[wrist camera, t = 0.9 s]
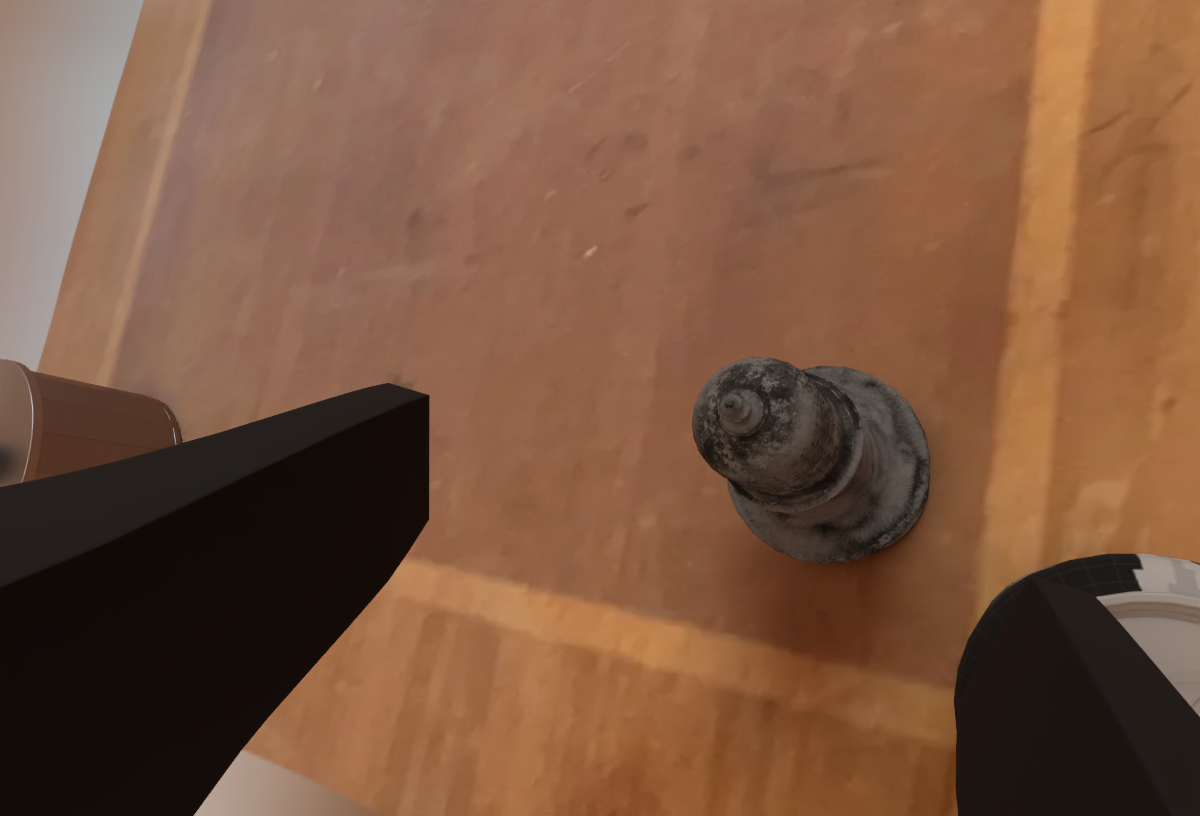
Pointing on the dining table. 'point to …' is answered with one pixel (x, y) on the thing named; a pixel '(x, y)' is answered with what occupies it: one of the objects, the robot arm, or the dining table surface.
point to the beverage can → (1119, 612)
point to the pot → (98, 425)
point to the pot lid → (19, 423)
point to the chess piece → (814, 456)
